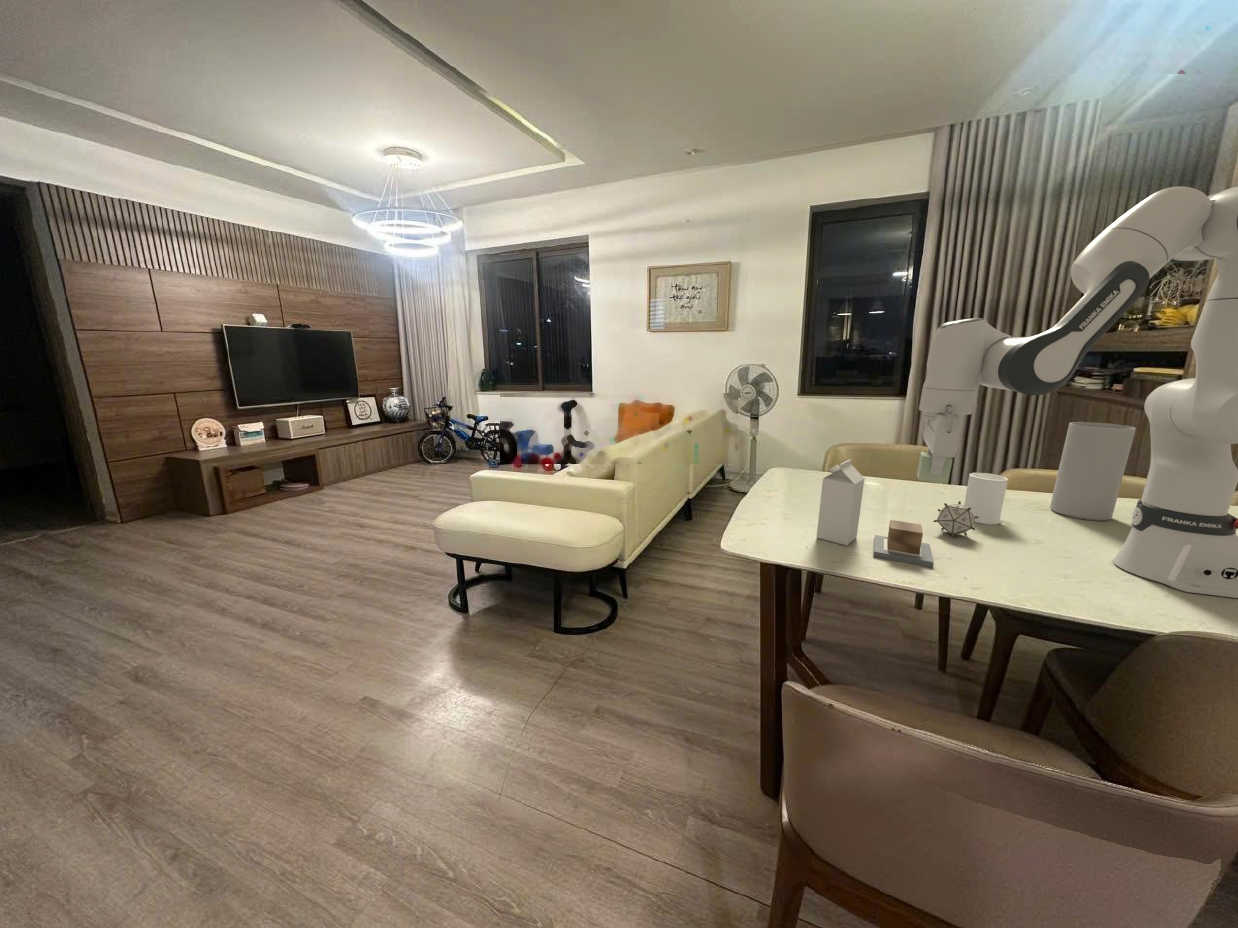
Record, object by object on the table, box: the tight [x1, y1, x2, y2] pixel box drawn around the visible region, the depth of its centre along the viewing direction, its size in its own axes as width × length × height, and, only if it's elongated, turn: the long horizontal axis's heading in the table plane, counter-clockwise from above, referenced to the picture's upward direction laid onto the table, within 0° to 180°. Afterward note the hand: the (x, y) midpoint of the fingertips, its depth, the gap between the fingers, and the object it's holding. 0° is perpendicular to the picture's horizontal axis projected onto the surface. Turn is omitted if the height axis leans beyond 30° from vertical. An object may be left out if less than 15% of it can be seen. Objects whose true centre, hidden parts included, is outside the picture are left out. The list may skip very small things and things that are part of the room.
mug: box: [963, 472, 1009, 526], centre depth 125 cm, size 12×8×12 cm
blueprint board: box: [872, 534, 935, 568], centre depth 104 cm, size 11×11×1 cm
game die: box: [932, 501, 978, 538], centre depth 114 cm, size 9×8×10 cm
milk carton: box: [816, 459, 865, 546], centre depth 110 cm, size 7×7×19 cm
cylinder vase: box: [1049, 421, 1136, 522], centre depth 127 cm, size 12×12×25 cm
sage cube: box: [916, 451, 953, 485], centre depth 96 cm, size 5×5×5 cm
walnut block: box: [887, 519, 924, 555], centre depth 104 cm, size 6×6×5 cm
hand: (933, 470), depth 96 cm, fingers closed on sage cube, 5 cm apart
